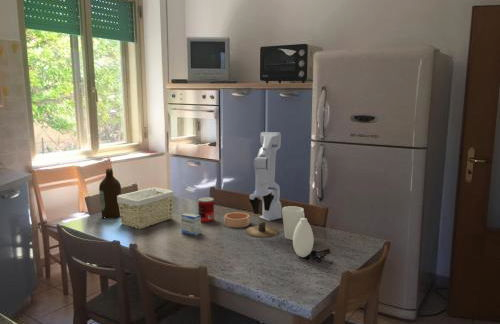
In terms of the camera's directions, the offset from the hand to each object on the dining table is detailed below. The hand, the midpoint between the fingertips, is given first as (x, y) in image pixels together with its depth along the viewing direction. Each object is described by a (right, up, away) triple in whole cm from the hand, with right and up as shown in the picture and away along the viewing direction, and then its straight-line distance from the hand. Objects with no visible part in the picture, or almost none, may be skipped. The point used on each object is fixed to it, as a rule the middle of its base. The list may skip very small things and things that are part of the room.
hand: (261, 212), depth 194 cm
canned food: (-27, -7, +19) cm, 34 cm away
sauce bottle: (+15, -14, -28) cm, 35 cm away
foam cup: (+14, -11, -6) cm, 18 cm away
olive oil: (-77, -6, +25) cm, 81 cm away
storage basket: (-57, -7, +17) cm, 59 cm away
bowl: (-12, -7, +14) cm, 19 cm away
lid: (0, -10, +1) cm, 10 cm away
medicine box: (-32, -10, -1) cm, 34 cm away
